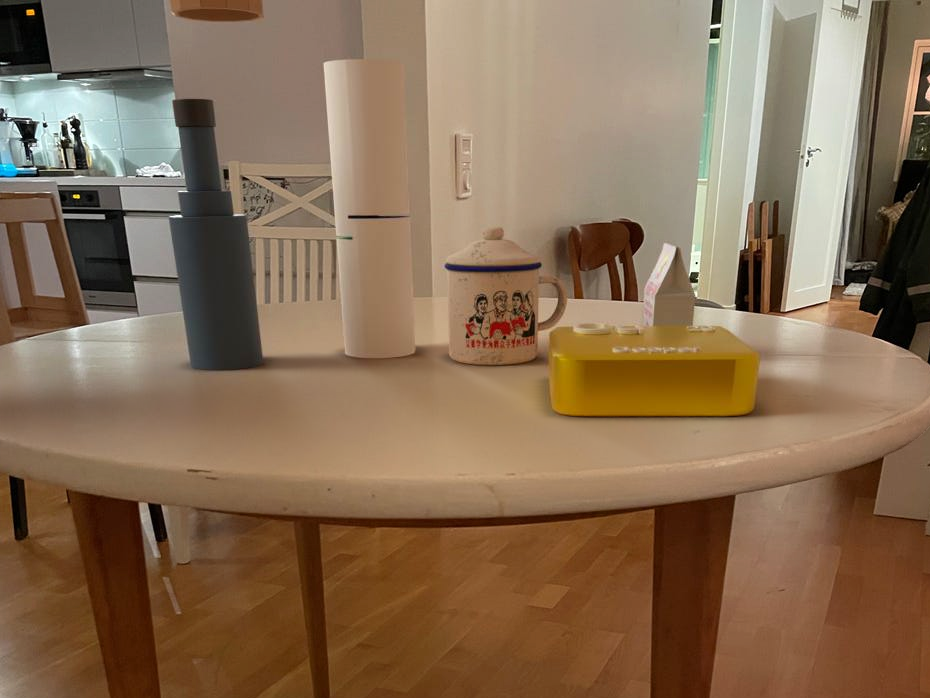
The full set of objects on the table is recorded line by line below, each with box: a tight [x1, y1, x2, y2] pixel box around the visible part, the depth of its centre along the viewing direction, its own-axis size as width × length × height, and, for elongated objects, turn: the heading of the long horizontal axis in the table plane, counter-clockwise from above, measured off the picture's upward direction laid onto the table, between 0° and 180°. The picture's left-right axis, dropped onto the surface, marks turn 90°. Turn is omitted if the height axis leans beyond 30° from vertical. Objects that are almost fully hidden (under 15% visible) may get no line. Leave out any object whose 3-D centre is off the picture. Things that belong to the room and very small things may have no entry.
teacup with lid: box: [444, 226, 568, 366], centre depth 87 cm, size 12×9×12 cm
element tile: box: [548, 322, 761, 417], centre depth 72 cm, size 15×15×5 cm
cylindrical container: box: [323, 58, 416, 359], centre depth 88 cm, size 7×7×25 cm
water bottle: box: [168, 98, 264, 371], centre depth 84 cm, size 7×7×22 cm
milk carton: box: [641, 242, 696, 326], centre depth 87 cm, size 4×7×10 cm, turn 179°
